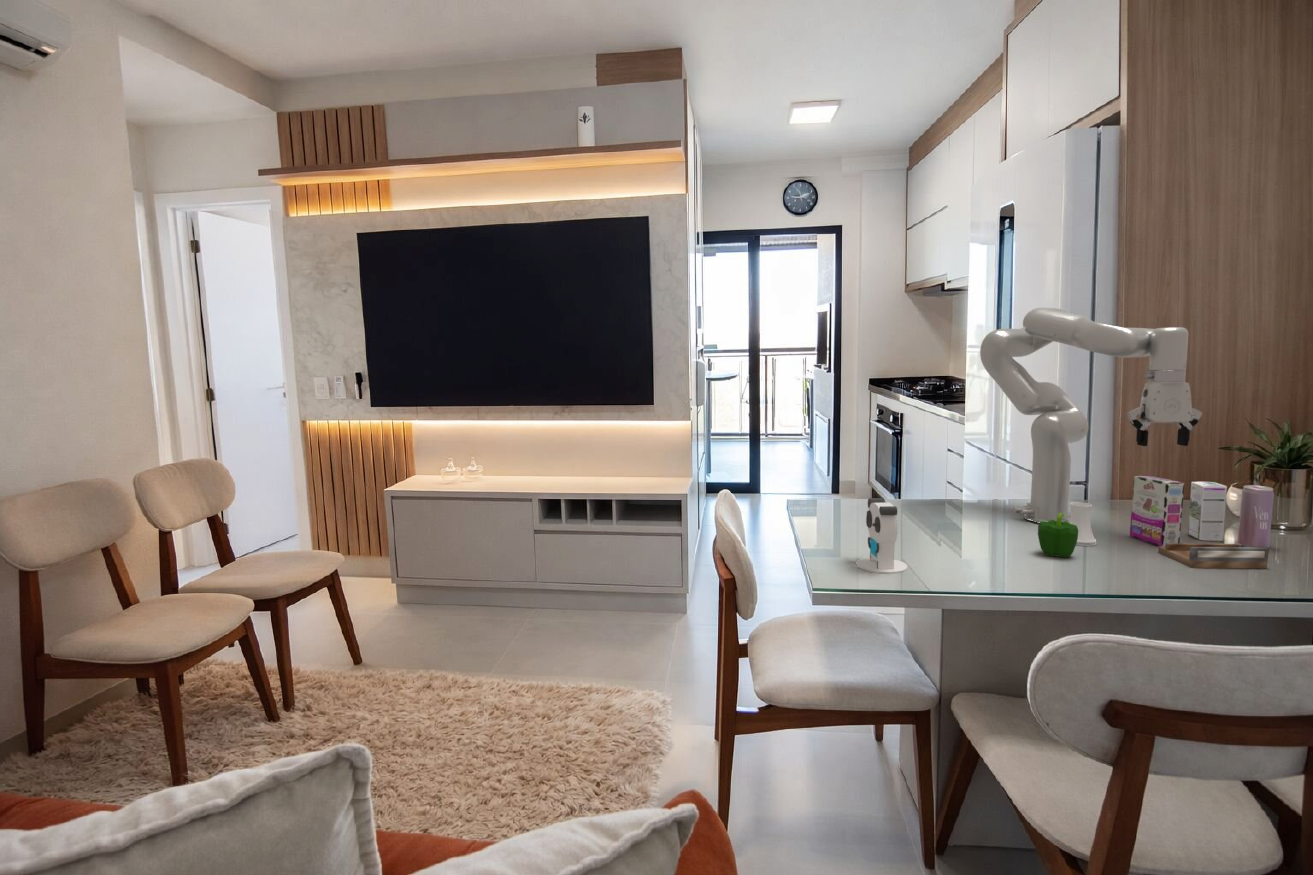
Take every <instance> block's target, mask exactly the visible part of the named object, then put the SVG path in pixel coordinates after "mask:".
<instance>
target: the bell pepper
mask: <svg viewBox="0 0 1313 875" xmlns="http://www.w3.org/2000/svg"><path fill="white" fill-rule="evenodd" d="M1063 516H1064V514H1063V513H1059V514H1058V517H1057V521H1055V520H1050V521H1047V522H1046V521H1045V522H1040V524H1039V523H1038V525H1037V535H1038V536H1037V537H1038V542H1039V547H1040V549H1041V551H1042V553H1043V554H1044V555H1046V556H1050V557H1051V556H1052V557H1060V558H1069V557H1071V555H1072V554H1073V553H1074V551H1075V548H1076V546H1077V545H1076V542H1077V539H1078V528H1077V526H1076V525H1072V524H1070V523H1069V522H1067V521H1064V522H1061V520H1062V517H1063Z"/></svg>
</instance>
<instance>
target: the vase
mask: <svg viewBox="0 0 1313 875" xmlns="http://www.w3.org/2000/svg"><path fill="white" fill-rule="evenodd" d="M1092 508H1093V504H1091V503H1088V502H1081V501H1080V502H1077V501H1075V502H1070V515H1069V516H1070V522H1069V523H1070V524H1072V525H1076V526H1077V528H1078V539H1077V542H1076V546H1082V547H1083V546H1084V547H1090V546H1096V545H1097V539H1096V538H1095V537H1094V534H1093V530H1092V524H1091V514H1092V513H1091V512H1092Z"/></svg>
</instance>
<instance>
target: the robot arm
mask: <svg viewBox="0 0 1313 875" xmlns="http://www.w3.org/2000/svg"><path fill="white" fill-rule="evenodd" d="M1054 342H1055V343H1060V344H1063V345H1068V346H1072V347H1076V348H1078V349H1082V350H1086V351H1089V352H1093V353H1097V354H1100V355H1106V356H1110V357H1113V358H1114V357H1115V358H1144V357H1145V358H1146V357H1149V362H1148V363H1149V364H1148V369H1149V370H1148V371H1147V372H1144V373H1143V378H1144V379H1147V382H1145V384H1144V387H1143V390H1142V394H1141V399H1140V404H1139V405H1140V406H1138V407H1136V408H1133V409H1131V410H1130V411H1128V412H1126V415H1127V418H1128V420H1129V423H1130V424H1131V425H1132V426H1133V427H1134V429H1135V430H1136V440H1135V441H1136V442H1137V443H1136V446H1140V447H1141V446H1142V447H1148V442H1149V439H1148V438H1149V430H1147V429H1148V427H1149V426H1150V425H1151V424H1152V423H1153V424H1177V425H1178V426H1179V427H1180V428H1178V430H1177V438H1176V443H1177V445H1178V446H1184V447H1188V446H1189V442H1190V434H1191V431H1192V430H1193V428H1194V427H1195V426H1196V425H1197V424H1198V423H1199V420H1200V418H1201V417H1202V416H1203V412H1202V411H1201V410H1199V409H1196V408H1194V407H1193V405H1192V393H1191V387H1190V383H1189V382H1186V379H1187V378H1186V373H1187V362H1188V348H1189V347H1188V346H1189V331H1188V329H1187V328H1186V327H1181V326H1180V327H1179V326H1178V327H1177V326H1175V327H1174V326H1171V327H1157V328H1147V327H1146V328H1145V327H1123V326H1122V327H1121V326H1117V325H1110V324H1106V323H1102V322H1098V321H1095V320H1092V319H1091V317H1090V316H1088V315H1084V314H1079V313H1074V312H1073V313H1071V312H1067V311H1065V310H1063V309H1061V308H1056V307H1055V308H1054V307H1038V308H1033V309H1032V310H1030V311H1028V312H1027V313H1026V314H1025V316H1024V317H1023V321H1022V327H1021V328H999V329H995V330H992V331H989V332H988V333H987V335H985V336H984V338H983V339H982V342H981V345H980V349H979V351H980V352H979V354H980V355H979V357H980V362H981V363H982V365H983V369H985V371H986V372H987V373H988V374H989V376H990V377H991V379H993V381H994V382H995V383H996V384H997V385H998V386H999V388H1000V389H1001V391H1002V392H1003V394H1004V395H1005V396H1006V398H1008V399H1009V401H1010V403H1012V404H1013V406H1014V407H1015V409H1016V410H1017V411H1019V413H1021V414H1023V415H1025V416H1036V417H1035V419H1034V420H1033V421H1032V424H1031V426H1030V427H1031V428H1030V435H1031V443H1032V444H1031V446H1032V465H1031V466H1032V471H1031V489H1030V502H1026V505H1023V506H1019V505H1018V506H1015V505H1014V506H1013V507H1012V512H1013V514H1021V515H1023V518H1024V517H1025V518H1026V519H1031V520H1033V521H1036V522H1045V521H1046V522H1047V521H1050V520H1055V521H1057V517H1058V514H1059V513H1063V514H1064V516H1063V517H1062V520H1061V522H1064V521H1067V522H1070V515H1069V500H1070V499H1069V498H1070V481H1071V462H1072V461H1071V451H1070V448H1069V444H1072V443H1077V442H1079V441H1081V440H1083V439H1084V438H1086V436H1087V434H1088V432H1089V421H1088V419H1087V417H1086V416H1085V414H1084V413H1083V412H1082V411H1081V409H1080V408H1079V407H1078V406H1077V404H1076V403H1075V402H1074V401H1073V400H1072V399H1071V398H1070V396H1069V395H1068V394H1067V393H1066V392H1065V391H1064V390H1063V389H1062V388H1061V387H1060V386H1058V385H1057V384H1056V383H1052V382H1045V381H1042V382H1039V381H1037V380H1035V379H1034V377H1032V375H1031V374H1029V372H1028V371H1027V369H1026V368H1025V367H1024V366H1023V365H1022V364H1021V363H1019V361H1018V362H1017V361H1016V360H1015V359H1014V358H1022V357H1026V356H1030V355H1031V354H1033V353H1035V352H1038V351H1039V350H1040V349H1042V348H1044V347H1046V346H1048V345H1050V344H1052V343H1054ZM1138 415H1139V419H1138V418H1137V416H1138Z"/></svg>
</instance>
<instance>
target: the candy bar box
mask: <svg viewBox="0 0 1313 875" xmlns="http://www.w3.org/2000/svg"><path fill="white" fill-rule="evenodd" d="M1132 485H1133V486H1132V501H1131V514H1130V515H1131V516H1130V527H1129V537H1131V538H1134V539H1135V540H1139V541H1143V542H1146V543H1149V544H1151V545H1154V546H1158V547H1159V546H1165V545H1166V543H1181V542H1180V541H1181V530H1182V521H1183V520H1182V519H1183V518H1182V516H1183V504H1184V495H1185V494H1184V493H1185V482H1183V481H1177V480H1175V479H1174V480H1173V479H1167V478H1163V477H1158V476H1153V475H1135V476H1133V484H1132Z"/></svg>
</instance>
